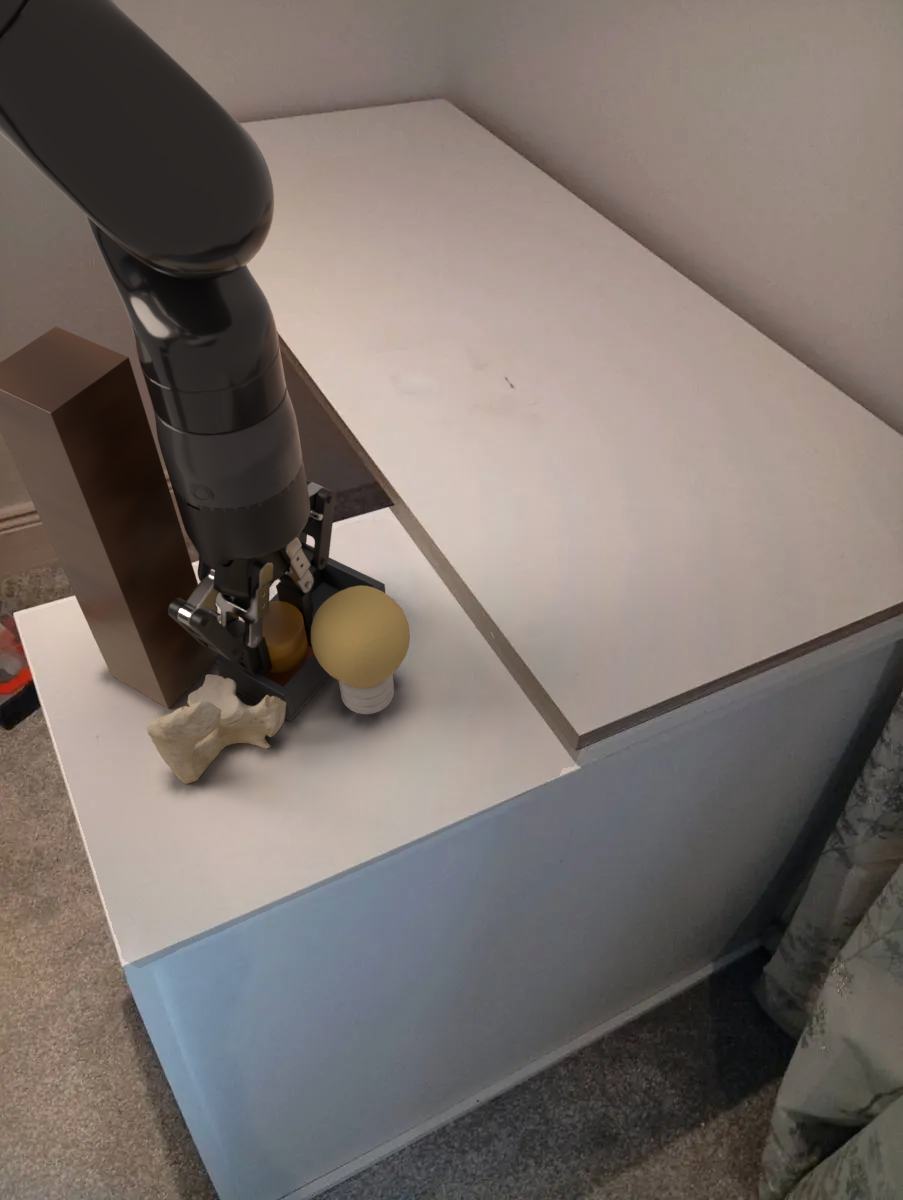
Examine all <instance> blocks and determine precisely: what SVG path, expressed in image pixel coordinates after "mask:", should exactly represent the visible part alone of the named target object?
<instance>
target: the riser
mask: <svg viewBox="0 0 903 1200" xmlns="http://www.w3.org/2000/svg"><path fill="white" fill-rule="evenodd" d="M130 359H131V358H130V357H129V356H126V355H124V354H122V353H120V352H117V351H115V350H113V349H110V348H108V347H106V346H104V345H101V344H99V343H96V342H95V341H92V340H89V339H87V338H85V337H82V336H79V335H77V334H75V333H73V332H70V331H68V330H67V329H63V328H61V327H59V326H53V327H52V328H50V329H49V330H48V331H46V332H44V333H43V334H41V335H40V336H38V337H37V338H35V339H34V340H32V341H31V342H29V343H27V344H26V345H25V346H23V347H22V348H20V349H18V350H16V352H14V353H12V354H11V355H10V356H7V358H5V359H3V360H2V361H0V434H1V436H2V439H3V441H4V443H5V445H6V448H7V450H8V451H9V454H10V456H11V459H12V460H13V463H14V465H15V467H16V469H17V471H18V474H19V476H20V478H21V480H22V483H23V485H24V487H25V489H26V491H27V494H28V496H29V498H30V501H31V502H32V505H33V507H34V509H35V511H36V513H37V515H38V517H39V520H40V522H41V524H42V527H43V529H44V531H45V533H46V535H47V537H48V539H49V542H50V544H51V547H52V548H53V550H54V553H55V555H56V557H57V559H58V562H59V564H60V566H61V568H62V571H63V573H64V575H65V577H66V579H67V582H68V584H69V586H70V589H71V590H72V593H73V594H74V597H75V598H76V599H75V600H76V602H77V603H78V605H79V607H80V610H81V612H82V615H83V616H84V619H85V621H86V623H87V625H88V627H89V630H90V632H91V634H92V636H93V639H94V641H95V642H96V643H95V644H96V645H97V648H98V649H99V652H100V653H101V656H102V658H103V660H104V663H105V665H106V667H107V669H108V671H109V673H110V675H111V677H113V678H115V679H116V680H118V681H119V682H121V683H123V684H125V685H126V686H128V687H130V688H132V689H133V690H135V691H137V692H138V693H140V694H141V695H143V696H145V697H147V698H148V699H151V700H152V701H154V702H156V703H157V704H159V705H161V706H163V707H164V708H166V709H168V710H170V708H172V707H173V705H174V704H175V703H176V702H178V700H179V699H180V698H181V697H182V696H183V695H184V694H185V693H186V692H187V691H188V690H189V689H190V688H191V687H192V686H193V685H194V684H195V682H197V681H198V680H199V679H200V677H201V676H202V675H203V674H204V673H206V672H207V670H208V669H209V668H211V666H212V665H213V664H214V663H216V661H215V657H216V656H217V655H218V654H219V653H217V652H215V651H214V650H212V649H208V648H206V647H205V646H203V645H201V644H200V643H199V642H198V641H197V640H196V639H195V638H194V637H193V636H192V635H190V634H189V633H188V632H187V631H186V630H185V629H184V628H183V627H182V626H181V625H179V624H178V623H177V622H176V621H175V620H174V619H173V618H172V617H171V616H169V614H168V608H169V605H170V604H171V602H172V601H173V600H174V599H176V598H181V599H183V600H185V601H187V600H188V599H189V597H190V596H191V594H192V593H193V592H194V590H195V589H196V587H197V586H198V584H199V582H198V579H197V576H196V572H195V569H194V566H193V562H192V560H191V559H192V558H191V556H190V552H189V549H188V545H187V544H186V539H185V537H184V534H183V529H182V527H181V524H180V520H179V516H178V514H177V510H176V508H175V504H174V500H173V497H172V494H171V491H170V488H169V485H168V480H167V478H166V474H165V471H164V467H163V464H162V461H161V458H160V454H159V451H158V448H157V444H156V441H155V438H154V434H153V431H152V428H151V425H150V422H149V419H148V415H147V411H146V408H145V406H144V402H143V399H142V395H141V392H140V389H139V386H138V382H137V378H136V376H135V373H134V370H133V367H132V363H131V360H130Z"/></svg>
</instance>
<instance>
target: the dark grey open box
mask: <svg viewBox="0 0 903 1200" xmlns="http://www.w3.org/2000/svg"><path fill="white" fill-rule="evenodd" d="M312 576H313V578H314V584H313V586H312V588H311V596H312V601H313V602H312V603H313V607H314V609H313V614H312V618H313V619H314V616H315V614H316V612H317V610H318V609H319V608H320V606H321V605H322V604H323V603H324V602H325V601H326V600H327V599H329V598H330V597H331V596H333V595H334V594H336V593H338V592H340V591H342V590H344V589H347V588H350V587H354V586H369V587H373V588H375V589H378V590H380V591H382V592H384V593H385V594H386V584H385V583H384V582H381V581H379V580H377V579H376V578H373V577H371V576H369V575H367V574H365V573H363V572H361V571H359V570H357V569H354V568H352V567H351V566H349V565H348V566H347V565H346V564H344V563H342V562H339V561H337V560H335V559H333V558H331V557H329V560H328V563H327V565H326V566H325V568H323V569H322V570H319V569H317V568H316V570H315V572H314V573H313V575H312ZM271 601H279V598H278V593H276V594H275V595H274V596H273V597H272V598H271V599H269V602H271ZM311 626H312V625H311ZM311 626H310V627H309V628H308V630H307V631H306V637H307V642H308V652H307V655H306V657H305V659H304V660H303V661H302V663H300V664H299V665H298V666H297V667H295V668H294V669H291V670H289V671H286V672H281V673H271V672H268V673H267V675H266V676H262V675H260V674H257V675H254V674H252V673H251V672H249V671H247V670H245V669H243V668H241V667H240V666H238V665H237V663H236V661H234V662H233V661H230V660H229V659H227V658H225V657H224V656H223V655H221V654H218V655H217V656H216V657H215V664H216V667H217V670H218V673H219V674H218V675H219V676H220V677H223V678H224V679H226V678H230V679H232V680H234V681H235V682H236V693H238V694H239V695H242V696H243V697H245V698H247V699H249V700H251V701H253V702H255V703H256V704H259V703H260V702H261V701H262V700H263V698H264V697H265V696H266V695H268V696H270V697H271V696H274V697H277V698H280V699H281V700H283V701H284V702H286V711H285V719H284V720H286V721H289V722H292V721H293V720H294V719H295V718H296V717H297V715H299V713H300V712H301V711H302V710H303V708H305V706H306V705H307V704H308V703H309V701H311V699H312V698H313V697H314V696H315V695H316V693H317V692H318V691H319V690H320V689H321V688H322V686H323V685H324V684H325V683H326V682H327V681H328V680H329V679H330V677H332V676H331V675H330V674H329V673H327V672H326V671H325V670H324V668H323V667H322V666H321V665H320V664H319V662H318V660H317V658H316V656H315V654H314V651H313V648H312V644H311Z"/></svg>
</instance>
